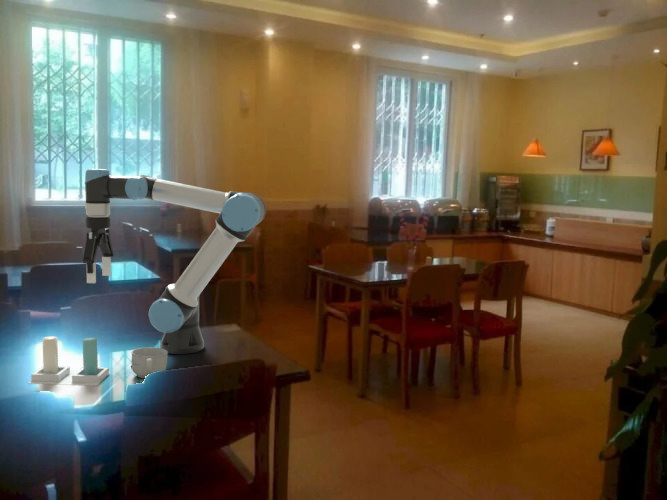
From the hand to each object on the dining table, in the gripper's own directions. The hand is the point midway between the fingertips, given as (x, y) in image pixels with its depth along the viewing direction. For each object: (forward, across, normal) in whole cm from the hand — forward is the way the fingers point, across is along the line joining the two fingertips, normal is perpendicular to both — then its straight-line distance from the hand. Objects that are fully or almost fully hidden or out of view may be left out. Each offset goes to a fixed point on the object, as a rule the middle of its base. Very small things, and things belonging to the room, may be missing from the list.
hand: (99, 279), depth 205 cm
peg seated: (+26, +24, -6) cm, 36 cm away
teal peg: (+26, +24, +6) cm, 36 cm away
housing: (+27, +24, 0) cm, 36 cm away
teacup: (+27, +19, +22) cm, 40 cm away
